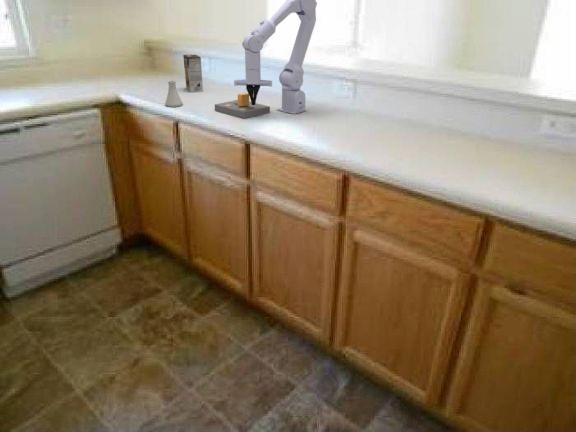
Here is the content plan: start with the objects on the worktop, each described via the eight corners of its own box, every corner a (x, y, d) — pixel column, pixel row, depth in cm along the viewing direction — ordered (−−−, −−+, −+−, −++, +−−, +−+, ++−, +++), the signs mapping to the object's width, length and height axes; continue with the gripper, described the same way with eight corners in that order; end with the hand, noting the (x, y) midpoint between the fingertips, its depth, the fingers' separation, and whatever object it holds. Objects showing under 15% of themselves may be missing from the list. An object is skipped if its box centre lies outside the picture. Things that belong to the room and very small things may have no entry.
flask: (161, 106, 189) (159, 81, 185) (173, 102, 195) (170, 79, 190) (175, 108, 186) (172, 83, 182) (186, 104, 192) (184, 80, 187)
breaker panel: (269, 112, 182) (269, 106, 180) (244, 118, 172) (243, 111, 171) (240, 105, 193) (240, 98, 191) (214, 110, 183) (214, 103, 182)
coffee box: (185, 89, 221) (182, 54, 214) (198, 88, 224) (196, 54, 216) (190, 92, 214) (187, 57, 207) (203, 91, 216) (201, 56, 209)
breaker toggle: (249, 104, 181) (249, 93, 179) (241, 106, 179) (241, 95, 177) (245, 103, 183) (245, 92, 181) (238, 105, 180) (237, 94, 178)
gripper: (272, 67, 174) (272, 102, 180) (235, 66, 174) (236, 101, 180) (271, 70, 167) (271, 106, 174) (232, 69, 168) (234, 105, 174)
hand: (253, 104), depth 176 cm, fingers closed
